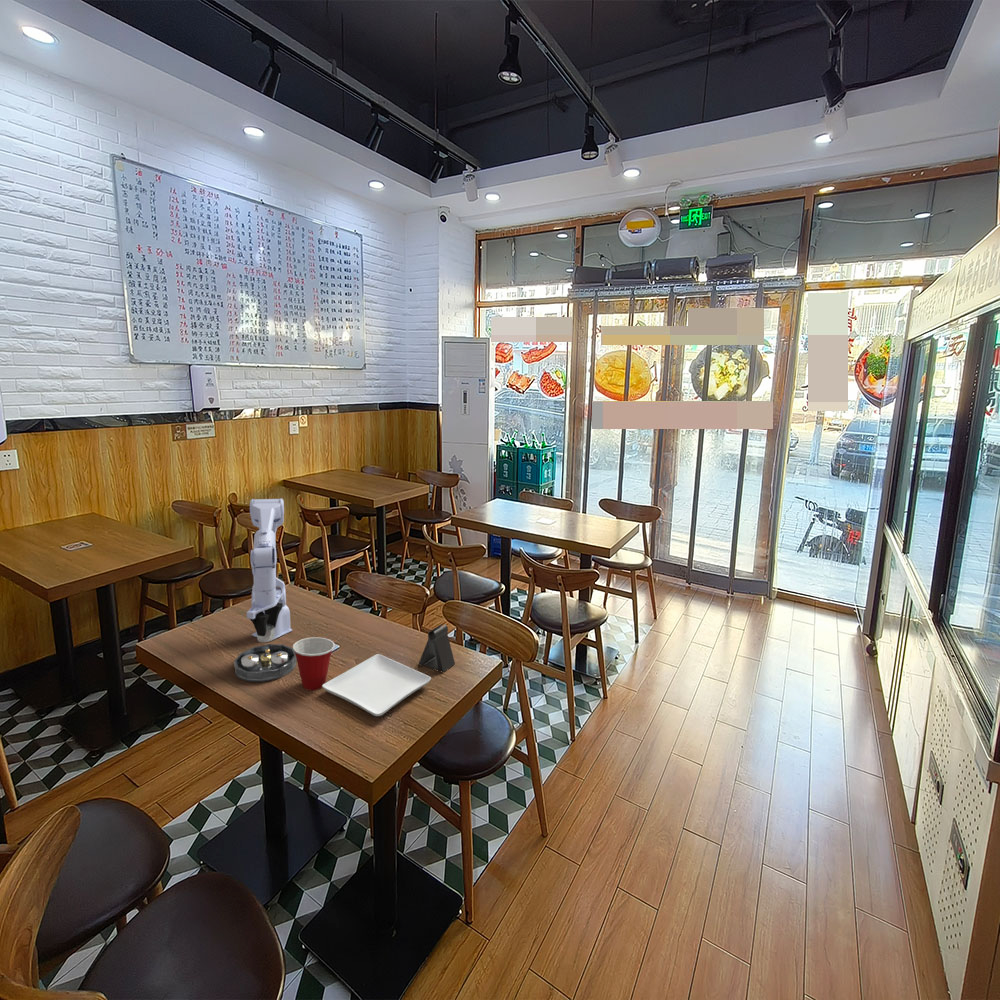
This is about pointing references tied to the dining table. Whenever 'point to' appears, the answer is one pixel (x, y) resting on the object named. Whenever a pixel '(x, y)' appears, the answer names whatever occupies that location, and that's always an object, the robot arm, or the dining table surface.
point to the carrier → (265, 663)
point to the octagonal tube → (267, 634)
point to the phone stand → (438, 650)
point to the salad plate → (377, 684)
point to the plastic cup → (313, 660)
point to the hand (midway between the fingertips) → (266, 631)
